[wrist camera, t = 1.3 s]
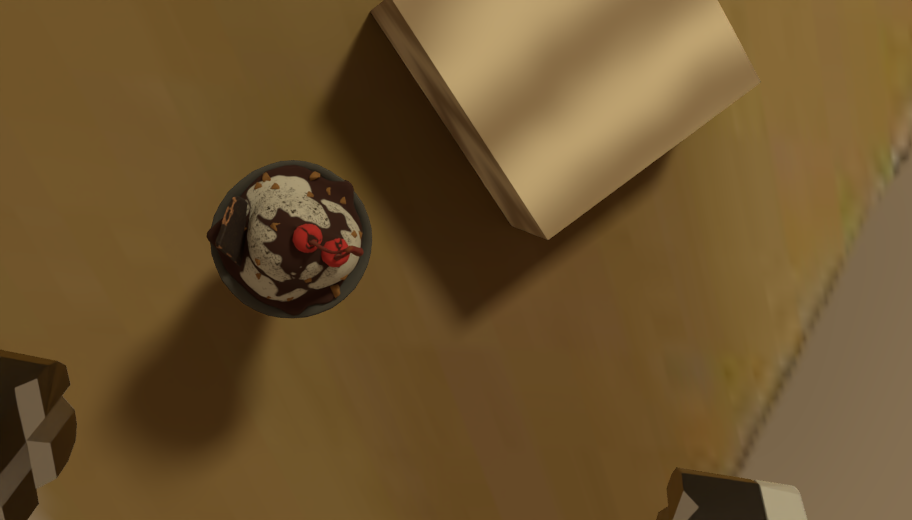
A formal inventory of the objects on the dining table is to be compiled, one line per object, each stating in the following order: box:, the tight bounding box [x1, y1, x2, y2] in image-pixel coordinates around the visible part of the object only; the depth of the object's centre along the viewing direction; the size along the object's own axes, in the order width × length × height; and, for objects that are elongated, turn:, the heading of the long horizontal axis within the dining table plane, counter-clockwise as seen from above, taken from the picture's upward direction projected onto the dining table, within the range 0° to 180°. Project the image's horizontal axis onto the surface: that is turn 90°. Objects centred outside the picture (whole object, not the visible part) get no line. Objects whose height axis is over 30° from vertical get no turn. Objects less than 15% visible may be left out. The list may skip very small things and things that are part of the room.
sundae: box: [207, 160, 372, 318], centre depth 39 cm, size 7×7×15 cm
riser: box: [370, 0, 761, 240], centre depth 45 cm, size 14×14×6 cm
